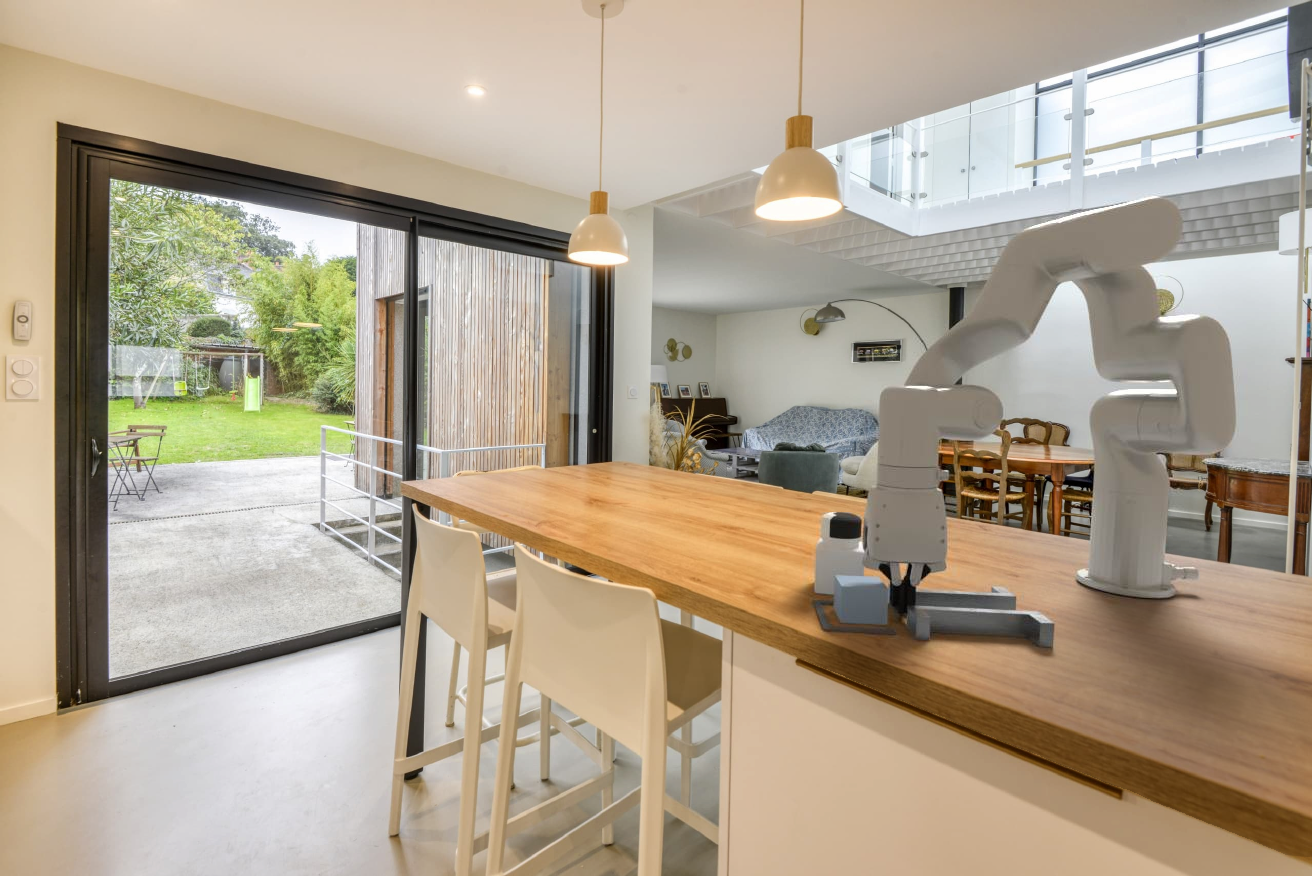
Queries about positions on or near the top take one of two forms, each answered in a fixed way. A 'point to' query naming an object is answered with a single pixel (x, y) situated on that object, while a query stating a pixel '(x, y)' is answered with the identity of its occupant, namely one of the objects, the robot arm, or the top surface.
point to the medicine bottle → (838, 550)
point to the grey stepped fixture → (975, 615)
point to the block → (860, 600)
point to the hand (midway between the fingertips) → (901, 611)
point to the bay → (827, 626)
